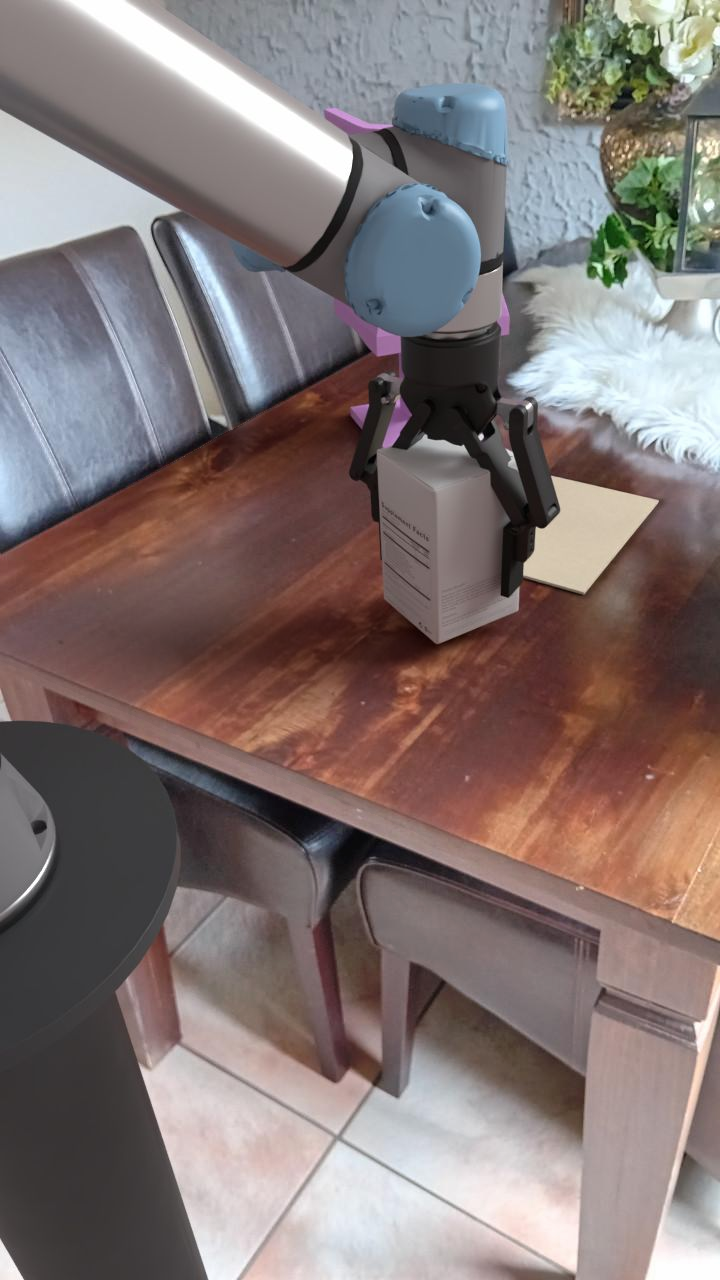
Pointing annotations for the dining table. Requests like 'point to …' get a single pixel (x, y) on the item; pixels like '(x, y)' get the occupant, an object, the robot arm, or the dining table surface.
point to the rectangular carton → (441, 538)
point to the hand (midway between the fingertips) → (450, 571)
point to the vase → (371, 334)
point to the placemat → (584, 534)
